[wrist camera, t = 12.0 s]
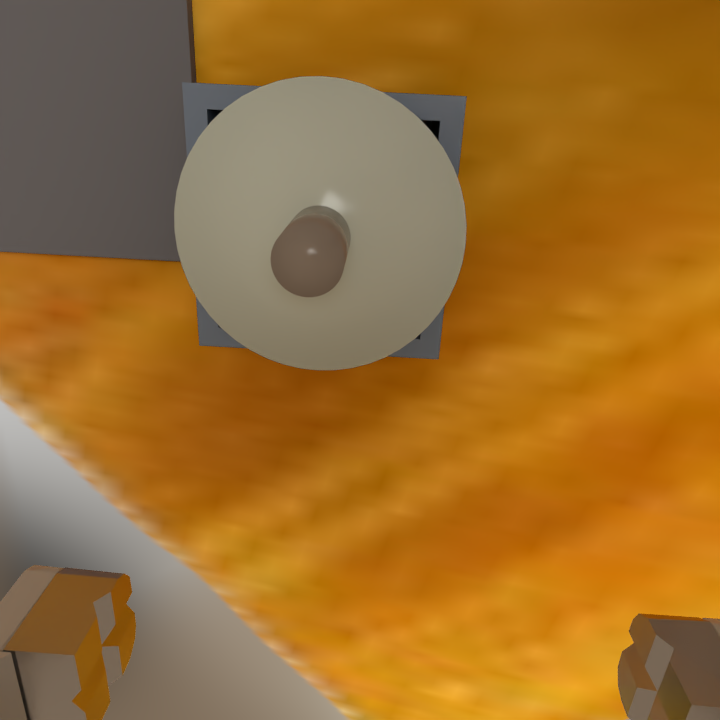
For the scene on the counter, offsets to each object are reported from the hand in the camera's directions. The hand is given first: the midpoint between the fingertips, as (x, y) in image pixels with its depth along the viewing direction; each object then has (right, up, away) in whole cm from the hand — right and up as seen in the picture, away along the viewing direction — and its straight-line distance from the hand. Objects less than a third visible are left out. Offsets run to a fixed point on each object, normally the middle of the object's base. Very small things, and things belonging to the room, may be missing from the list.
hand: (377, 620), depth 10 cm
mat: (-16, +17, +22) cm, 32 cm away
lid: (-2, +10, +18) cm, 21 cm away
